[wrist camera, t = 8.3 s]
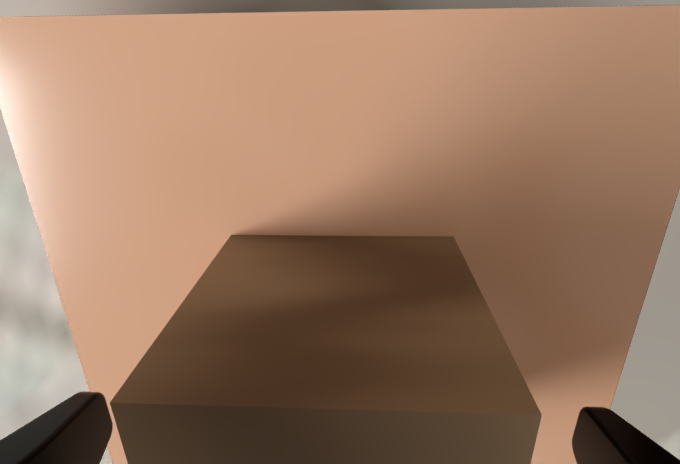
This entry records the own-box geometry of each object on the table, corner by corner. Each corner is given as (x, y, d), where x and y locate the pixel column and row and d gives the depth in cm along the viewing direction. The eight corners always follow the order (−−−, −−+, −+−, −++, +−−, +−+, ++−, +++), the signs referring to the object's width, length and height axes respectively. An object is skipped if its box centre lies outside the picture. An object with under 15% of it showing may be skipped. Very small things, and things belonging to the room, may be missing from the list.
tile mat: (703, 8, 8) (737, 3, 7) (561, 498, 14) (573, 524, 13) (4, 20, 9) (-29, 17, 8) (137, 482, 14) (125, 505, 14)
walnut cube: (453, 236, 9) (541, 414, 5) (436, 407, 11) (486, 652, 7) (231, 235, 10) (109, 402, 5) (252, 402, 12) (178, 633, 7)
